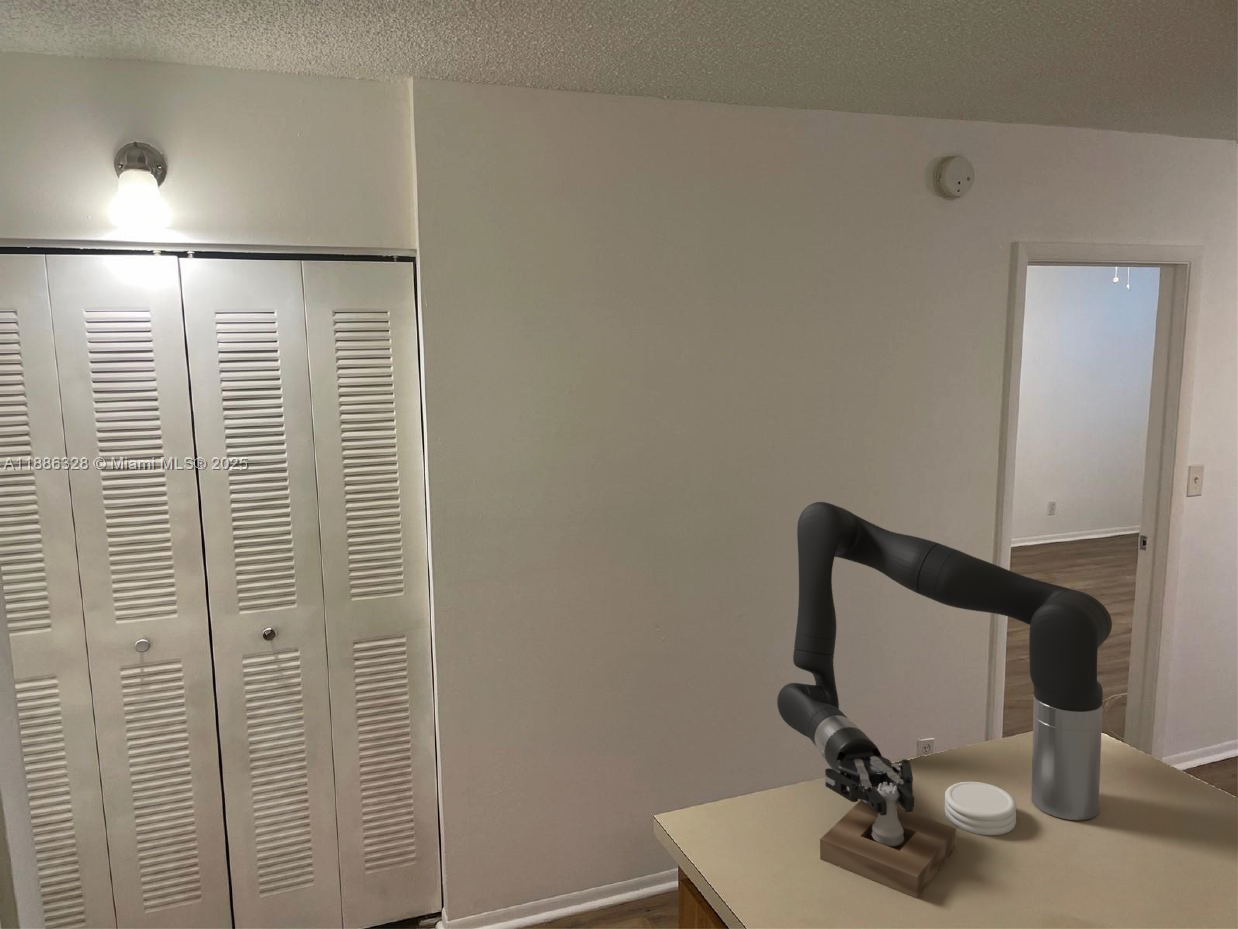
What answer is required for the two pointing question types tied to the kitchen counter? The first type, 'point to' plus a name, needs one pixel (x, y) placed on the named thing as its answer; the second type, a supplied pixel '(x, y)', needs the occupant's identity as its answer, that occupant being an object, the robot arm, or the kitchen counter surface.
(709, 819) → the kitchen counter surface
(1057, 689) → the robot arm
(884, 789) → the rook chess piece
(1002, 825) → the coaster
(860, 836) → the socket block
